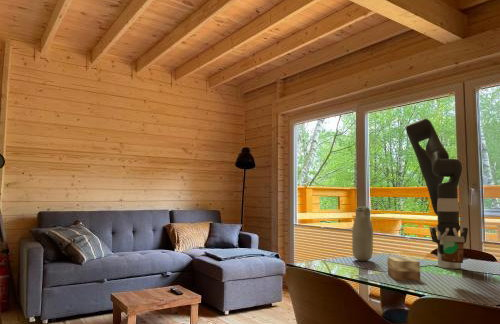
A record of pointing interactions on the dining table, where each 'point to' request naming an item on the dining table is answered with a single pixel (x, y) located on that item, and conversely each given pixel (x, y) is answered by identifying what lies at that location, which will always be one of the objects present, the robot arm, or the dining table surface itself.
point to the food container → (452, 248)
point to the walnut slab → (403, 275)
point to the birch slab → (403, 264)
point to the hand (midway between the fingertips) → (449, 254)
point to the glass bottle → (362, 235)
